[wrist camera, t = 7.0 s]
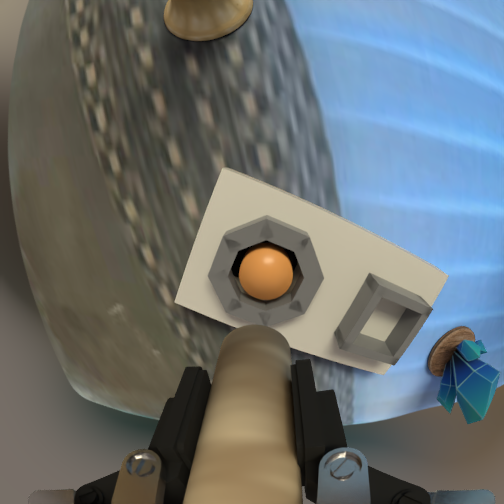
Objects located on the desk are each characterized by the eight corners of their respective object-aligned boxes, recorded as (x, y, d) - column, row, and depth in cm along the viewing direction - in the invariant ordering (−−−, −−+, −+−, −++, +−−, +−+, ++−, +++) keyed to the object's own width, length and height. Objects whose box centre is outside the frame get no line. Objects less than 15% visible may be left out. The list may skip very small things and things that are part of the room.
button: (299, 254, 23) (301, 262, 21) (278, 295, 24) (279, 307, 22) (252, 234, 22) (251, 241, 21) (234, 278, 24) (231, 288, 22)
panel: (436, 266, 24) (462, 286, 19) (377, 360, 28) (390, 390, 23) (227, 167, 23) (216, 168, 18) (182, 290, 26) (165, 316, 22)
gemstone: (416, 380, 28) (452, 450, 17) (441, 322, 26) (496, 389, 14) (457, 374, 28) (495, 433, 17) (482, 320, 26) (535, 374, 14)
